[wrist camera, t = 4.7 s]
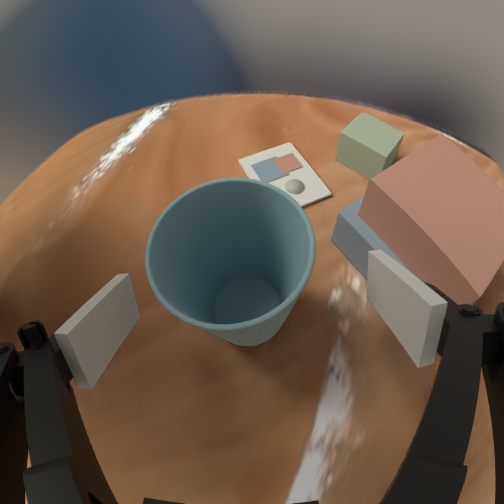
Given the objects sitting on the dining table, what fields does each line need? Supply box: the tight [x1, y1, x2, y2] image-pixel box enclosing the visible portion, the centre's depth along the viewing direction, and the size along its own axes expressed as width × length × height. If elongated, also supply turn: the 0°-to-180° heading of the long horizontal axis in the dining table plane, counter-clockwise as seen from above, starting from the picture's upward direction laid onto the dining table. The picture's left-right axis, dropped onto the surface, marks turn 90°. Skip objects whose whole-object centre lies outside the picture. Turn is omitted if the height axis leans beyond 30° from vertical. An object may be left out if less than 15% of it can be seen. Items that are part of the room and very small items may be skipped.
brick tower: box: [331, 134, 504, 305], centre depth 19 cm, size 12×12×8 cm
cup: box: [145, 178, 316, 346], centre depth 17 cm, size 8×8×10 cm
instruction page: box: [238, 142, 331, 207], centre depth 28 cm, size 8×6×1 cm
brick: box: [335, 112, 404, 180], centre depth 27 cm, size 5×5×4 cm
